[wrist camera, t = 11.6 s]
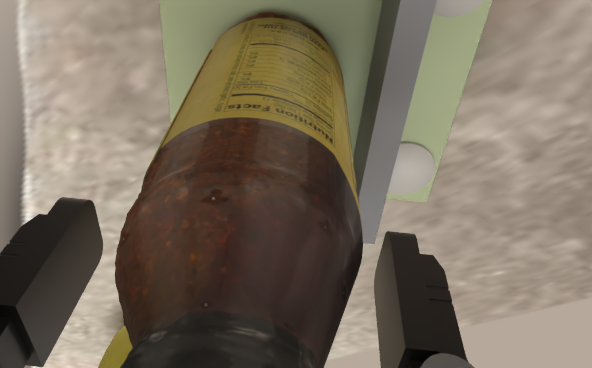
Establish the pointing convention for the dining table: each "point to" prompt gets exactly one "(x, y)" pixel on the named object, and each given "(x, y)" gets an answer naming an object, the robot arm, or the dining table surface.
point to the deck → (360, 77)
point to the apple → (117, 350)
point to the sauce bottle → (246, 211)
